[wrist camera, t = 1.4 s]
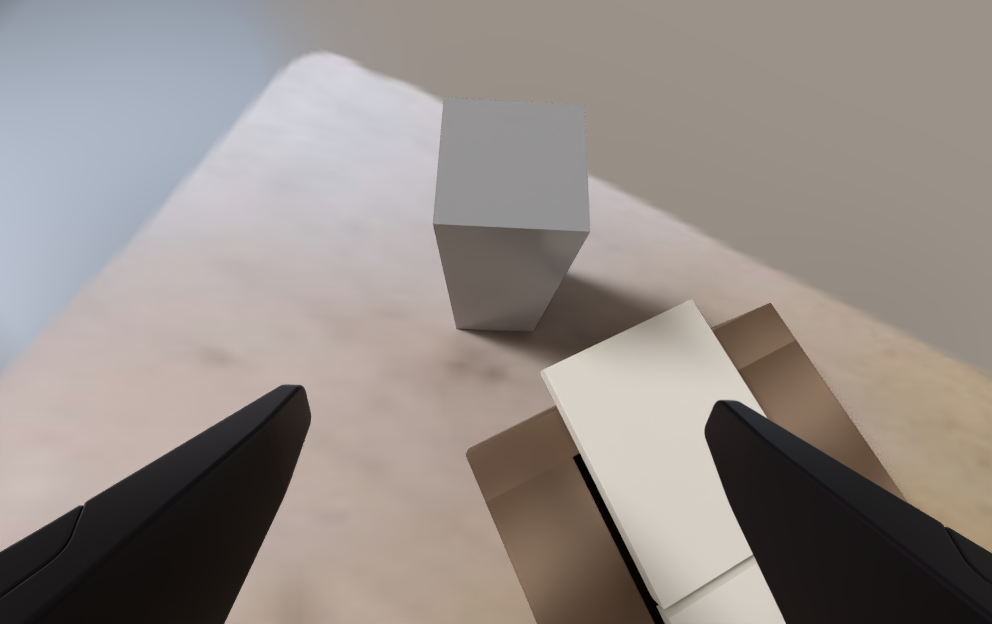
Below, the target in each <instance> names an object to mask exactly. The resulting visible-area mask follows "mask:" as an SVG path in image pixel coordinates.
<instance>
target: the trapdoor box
mask: <svg viewBox="0 0 992 624" xmlns="http://www.w3.org/2000/svg"><path fill="white" fill-rule="evenodd" d="M711 330H712V332H713V333H714V335H715V336H716V338H717V340H718V341H719V343H720V344H721V346H722V347H723V349H724V351H725V352H726V354H727V355H728V357H729V358H730V360H731V362H732V363H733V365H734V366H735V368H736V369H737V371H738V373H739V374H740V376H741V377H742V379H743V381H744V382H745V384H746V385H747V387H748V388H749V390H750V392H751V393H752V395H753V396H754V398H755V399H756V401H757V403H758V404H759V406H760V407H761V409H762V411H763V412H764V414H765V415H766V417H767V418H768V419H769V420H771V421H773V422H774V423H776V424H778V425H779V426H781V427H783V428H784V429H786V430H787V431H789V432H791V433H792V434H794V435H796V436H797V437H799V438H801V439H802V440H804V441H806V442H807V443H809V444H811V445H812V446H814V447H816V448H817V449H819V450H821V451H822V452H824V453H826V454H827V455H829V456H831V457H832V458H834V459H836V460H837V461H839V462H841V463H842V464H844V465H846V466H847V467H849V468H851V469H852V470H854V471H856V472H857V473H859V474H861V475H862V476H864V477H866V478H867V479H869V480H871V481H872V482H874V483H876V484H877V485H879V486H881V487H882V488H884V489H886V490H887V491H889V492H891V493H892V494H894V495H896V496H897V497H899V498H901V499H902V500H904V501H906V499H905V498H904V496H903V495H902V493H901V492H900V490H899V489H898V487H897V486H896V485H895V483H894V482H893V480H892V479H891V477H890V476H889V474H888V473H887V471H886V470H885V469H884V467H883V466H882V464H881V463H880V461H879V460H878V458H877V457H876V455H875V454H874V453H873V451H872V450H871V448H870V447H869V445H868V444H867V442H866V441H865V439H864V438H863V436H862V435H861V434H860V432H859V431H858V429H857V428H856V426H855V425H854V423H853V422H852V420H851V419H850V418H849V416H848V415H847V413H846V412H845V410H844V409H843V407H842V406H841V404H840V403H839V402H838V400H837V399H836V397H835V396H834V394H833V393H832V391H831V390H830V388H829V387H828V386H827V384H826V383H825V381H824V380H823V378H822V377H821V375H820V374H819V372H818V371H817V370H816V368H815V367H814V365H813V364H812V362H811V361H810V359H809V358H808V356H807V355H806V354H805V352H804V351H803V349H802V348H801V346H800V345H799V343H798V342H797V340H796V339H795V338H794V336H793V335H792V333H791V332H790V330H789V329H788V327H787V326H786V324H785V323H784V322H783V320H782V319H781V317H780V316H779V314H778V313H777V311H776V310H775V308H774V307H773V306H772V304H771V303H769V304H767V305H764V306H762V307H760V308H757V309H755V310H752V311H750V312H748V313H745V314H743V315H741V316H738V317H736V318H734V319H731V320H729V321H727V322H724V323H722V324H719V325H717V326H715V327H713V328H711ZM579 453H580V452H579V450H578V448H577V446H576V444H575V442H574V440H573V438H572V436H571V434H570V432H569V430H568V428H567V426H566V424H565V422H564V420H563V418H562V416H561V414H560V412H559V410H558V408H557V406H554V407H552V408H550V409H548V410H546V411H544V412H542V413H540V414H537V415H535V416H533V417H531V418H529V419H527V420H525V421H523V422H521V423H519V424H517V425H515V426H513V427H511V428H509V429H507V430H505V431H503V432H501V433H499V434H497V435H495V436H493V437H491V438H489V439H487V440H485V441H483V442H481V443H479V444H477V445H475V446H473V447H471V448H469V449H468V451H467V453H466V457H467V459H468V461H469V464H470V466H471V468H472V471H473V473H474V476H475V478H476V480H477V483H478V485H479V487H480V490H481V492H482V494H483V497H484V499H485V501H486V504H487V506H488V509H489V511H490V513H491V516H492V518H493V520H494V523H495V525H496V527H497V530H498V532H499V534H500V537H501V539H502V542H503V544H504V546H505V549H506V551H507V553H508V556H509V558H510V560H511V563H512V565H513V567H514V570H515V572H516V575H517V577H518V579H519V582H520V584H521V586H522V589H523V591H524V593H525V596H526V598H527V601H528V603H529V605H530V608H531V610H532V612H533V615H534V617H535V619H536V622H537V624H654V622H653V620H652V618H651V616H650V614H649V612H648V610H647V607H646V605H645V603H644V601H643V599H642V597H641V595H640V593H639V591H638V589H637V587H636V585H635V583H634V581H633V579H632V577H631V575H630V573H629V571H628V569H627V567H626V565H625V563H624V561H623V559H622V557H621V555H620V553H619V551H618V549H617V547H616V544H615V542H614V540H613V538H612V536H611V534H610V532H609V530H608V528H607V526H606V524H605V522H604V520H603V518H602V516H601V514H600V512H599V510H598V508H597V506H596V504H595V502H594V500H593V498H592V496H591V494H590V492H589V490H588V488H587V486H586V483H585V481H584V479H583V477H582V475H581V473H580V471H579V469H578V467H577V465H576V463H575V461H574V459H573V456H575V455H577V454H579ZM906 502H907V501H906ZM907 503H908V502H907Z"/></svg>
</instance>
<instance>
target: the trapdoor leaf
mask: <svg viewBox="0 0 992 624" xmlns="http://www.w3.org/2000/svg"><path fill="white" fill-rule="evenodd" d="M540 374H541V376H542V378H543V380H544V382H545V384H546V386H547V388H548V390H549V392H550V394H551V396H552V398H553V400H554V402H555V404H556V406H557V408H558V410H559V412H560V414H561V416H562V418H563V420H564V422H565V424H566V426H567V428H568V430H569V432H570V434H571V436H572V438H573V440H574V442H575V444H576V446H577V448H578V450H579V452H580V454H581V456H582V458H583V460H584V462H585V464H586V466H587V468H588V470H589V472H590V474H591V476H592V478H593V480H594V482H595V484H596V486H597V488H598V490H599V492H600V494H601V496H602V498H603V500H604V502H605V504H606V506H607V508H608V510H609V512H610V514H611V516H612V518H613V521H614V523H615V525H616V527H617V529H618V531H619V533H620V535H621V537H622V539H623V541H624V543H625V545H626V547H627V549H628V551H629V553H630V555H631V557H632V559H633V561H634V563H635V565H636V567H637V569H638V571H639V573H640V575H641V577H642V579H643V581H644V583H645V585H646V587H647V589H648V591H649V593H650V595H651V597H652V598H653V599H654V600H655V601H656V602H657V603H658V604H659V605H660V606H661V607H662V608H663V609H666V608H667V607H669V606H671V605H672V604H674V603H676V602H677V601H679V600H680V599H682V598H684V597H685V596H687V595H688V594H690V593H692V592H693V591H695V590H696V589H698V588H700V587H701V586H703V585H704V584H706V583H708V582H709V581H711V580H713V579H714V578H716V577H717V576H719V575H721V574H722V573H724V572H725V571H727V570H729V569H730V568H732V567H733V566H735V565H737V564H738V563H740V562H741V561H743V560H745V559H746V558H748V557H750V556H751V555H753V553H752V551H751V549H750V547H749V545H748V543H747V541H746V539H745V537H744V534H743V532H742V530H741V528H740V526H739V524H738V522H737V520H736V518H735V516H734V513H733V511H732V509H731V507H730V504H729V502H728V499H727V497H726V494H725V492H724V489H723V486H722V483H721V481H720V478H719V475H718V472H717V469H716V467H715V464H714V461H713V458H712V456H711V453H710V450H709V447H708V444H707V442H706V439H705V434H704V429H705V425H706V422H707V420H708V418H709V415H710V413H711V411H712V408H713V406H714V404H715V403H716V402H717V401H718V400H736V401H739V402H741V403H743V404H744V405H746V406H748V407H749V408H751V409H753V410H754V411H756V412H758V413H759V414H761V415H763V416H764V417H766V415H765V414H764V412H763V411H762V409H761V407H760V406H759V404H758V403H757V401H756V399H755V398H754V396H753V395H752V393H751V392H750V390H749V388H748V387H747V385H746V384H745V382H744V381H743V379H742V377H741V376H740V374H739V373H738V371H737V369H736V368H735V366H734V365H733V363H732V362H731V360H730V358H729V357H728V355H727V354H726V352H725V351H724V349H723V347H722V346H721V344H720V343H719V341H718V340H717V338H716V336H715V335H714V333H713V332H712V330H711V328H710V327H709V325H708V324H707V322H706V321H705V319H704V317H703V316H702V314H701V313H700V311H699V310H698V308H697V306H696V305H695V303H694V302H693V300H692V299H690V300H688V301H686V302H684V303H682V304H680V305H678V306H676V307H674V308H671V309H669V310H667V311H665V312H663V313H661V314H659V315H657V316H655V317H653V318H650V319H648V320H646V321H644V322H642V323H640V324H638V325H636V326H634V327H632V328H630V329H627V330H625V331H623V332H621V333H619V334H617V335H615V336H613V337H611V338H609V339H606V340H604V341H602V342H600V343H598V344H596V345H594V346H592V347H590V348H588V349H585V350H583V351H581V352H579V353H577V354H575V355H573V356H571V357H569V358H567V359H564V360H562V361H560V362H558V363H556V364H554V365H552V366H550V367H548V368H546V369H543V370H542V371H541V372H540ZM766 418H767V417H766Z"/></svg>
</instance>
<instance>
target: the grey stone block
mask: <svg viewBox="0 0 992 624" xmlns="http://www.w3.org/2000/svg"><path fill="white" fill-rule="evenodd" d="M433 226H434V231H435V235H436V240H437V244H438V249H439V253H440V257H441V262H442V266H443V271H444V275H445V280H446V284H447V289H448V293H449V297H450V302H451V306H452V311H453V315H454V320H455V324H456V328H457V329H478V330H503V331H528V332H533V330H534V329H535V327H536V325H537V323H538V322H539V320H540V318H541V316H542V315H543V313H544V311H545V309H546V308H547V306H548V304H549V302H550V301H551V299H552V297H553V296H554V294H555V292H556V290H557V289H558V287H559V285H560V283H561V282H562V280H563V278H564V276H565V275H566V273H567V271H568V269H569V268H570V266H571V264H572V262H573V261H574V259H575V257H576V255H577V254H578V252H579V250H580V248H581V247H582V245H583V243H584V241H585V240H586V238H587V236H588V234H589V233H590V219H589V196H588V172H587V150H586V126H585V106H584V105H569V104H552V103H551V104H550V103H534V102H518V101H500V100H485V99H468V98H451V97H444V101H443V113H442V125H441V136H440V148H439V160H438V171H437V183H436V194H435V206H434V218H433Z"/></svg>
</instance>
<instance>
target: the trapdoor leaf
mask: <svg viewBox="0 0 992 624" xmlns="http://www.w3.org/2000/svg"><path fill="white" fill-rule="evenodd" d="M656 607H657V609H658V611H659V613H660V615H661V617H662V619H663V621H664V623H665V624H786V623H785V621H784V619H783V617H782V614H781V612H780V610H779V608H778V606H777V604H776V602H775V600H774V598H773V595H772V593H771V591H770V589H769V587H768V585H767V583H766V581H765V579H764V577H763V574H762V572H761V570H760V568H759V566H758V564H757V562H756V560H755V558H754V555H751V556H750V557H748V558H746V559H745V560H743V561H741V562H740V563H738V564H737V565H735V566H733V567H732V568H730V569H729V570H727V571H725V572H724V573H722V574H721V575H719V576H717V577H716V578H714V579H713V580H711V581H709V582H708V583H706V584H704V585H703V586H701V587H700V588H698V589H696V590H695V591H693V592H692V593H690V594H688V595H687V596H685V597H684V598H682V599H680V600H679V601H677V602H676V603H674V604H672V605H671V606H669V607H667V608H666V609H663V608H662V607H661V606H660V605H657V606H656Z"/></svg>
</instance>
